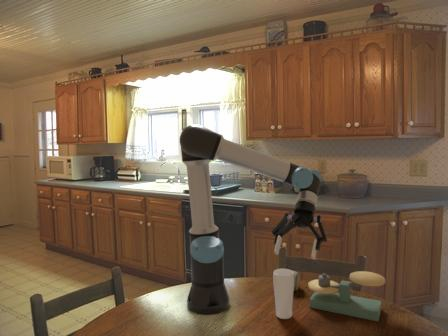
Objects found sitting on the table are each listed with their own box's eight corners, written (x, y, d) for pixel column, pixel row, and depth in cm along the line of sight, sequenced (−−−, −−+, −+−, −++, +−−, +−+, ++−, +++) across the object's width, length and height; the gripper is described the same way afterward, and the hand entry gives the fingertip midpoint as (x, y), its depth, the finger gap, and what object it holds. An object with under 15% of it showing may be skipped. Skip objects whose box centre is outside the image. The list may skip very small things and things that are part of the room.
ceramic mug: (297, 294, 134) (297, 274, 134) (275, 291, 137) (275, 271, 136) (301, 284, 144) (301, 265, 143) (281, 281, 147) (281, 263, 146)
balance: (304, 307, 123) (304, 273, 122) (312, 295, 133) (312, 263, 132) (383, 324, 111) (383, 286, 110) (385, 309, 121) (386, 274, 120)
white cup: (282, 323, 113) (281, 277, 112) (269, 314, 119) (269, 270, 118) (298, 317, 116) (298, 273, 115) (285, 309, 122) (285, 267, 121)
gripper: (340, 212, 132) (331, 265, 121) (278, 208, 145) (264, 255, 134) (337, 201, 127) (327, 254, 116) (272, 198, 140) (258, 246, 129)
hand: (293, 255), depth 125 cm, fingers open, 13 cm apart
